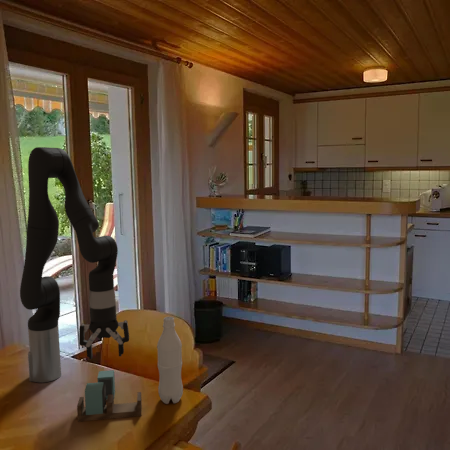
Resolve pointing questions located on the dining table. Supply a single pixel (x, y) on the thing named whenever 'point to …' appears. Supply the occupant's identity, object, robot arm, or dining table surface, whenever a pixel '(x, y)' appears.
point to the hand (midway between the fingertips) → (105, 356)
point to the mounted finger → (95, 398)
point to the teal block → (107, 381)
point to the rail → (111, 409)
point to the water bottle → (169, 363)
